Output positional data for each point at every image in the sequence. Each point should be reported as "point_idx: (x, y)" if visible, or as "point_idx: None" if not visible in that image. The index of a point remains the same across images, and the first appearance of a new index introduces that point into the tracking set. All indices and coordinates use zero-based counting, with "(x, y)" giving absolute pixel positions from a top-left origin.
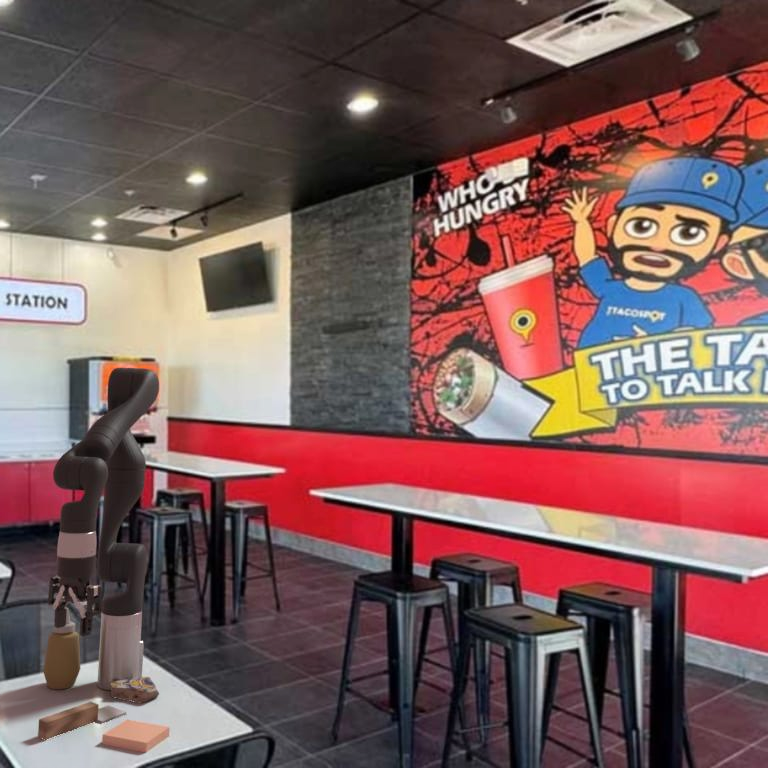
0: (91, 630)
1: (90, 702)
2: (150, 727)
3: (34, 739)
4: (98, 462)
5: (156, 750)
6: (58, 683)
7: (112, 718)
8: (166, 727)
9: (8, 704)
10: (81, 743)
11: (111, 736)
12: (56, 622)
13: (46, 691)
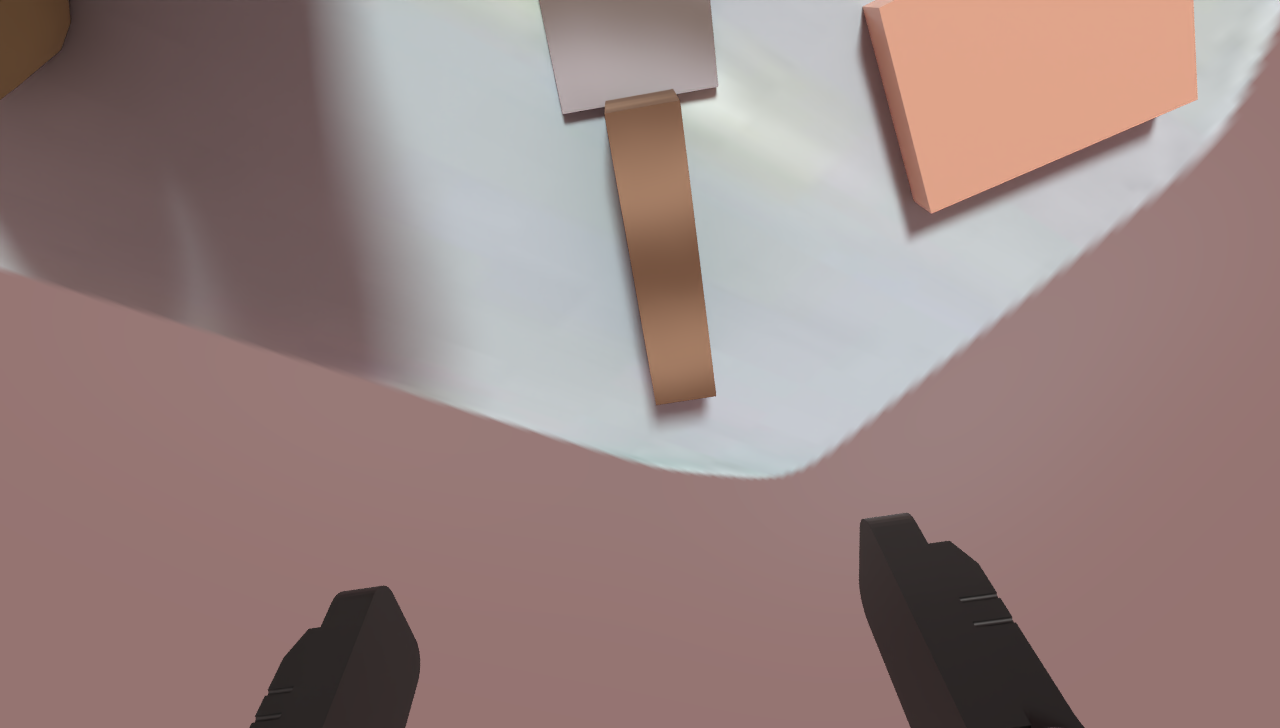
0: (973, 563)
1: (619, 123)
2: None
3: None
4: None
5: None
6: (50, 45)
7: (709, 9)
8: None
9: (204, 322)
10: (839, 265)
11: (981, 190)
12: (403, 723)
13: (69, 101)
